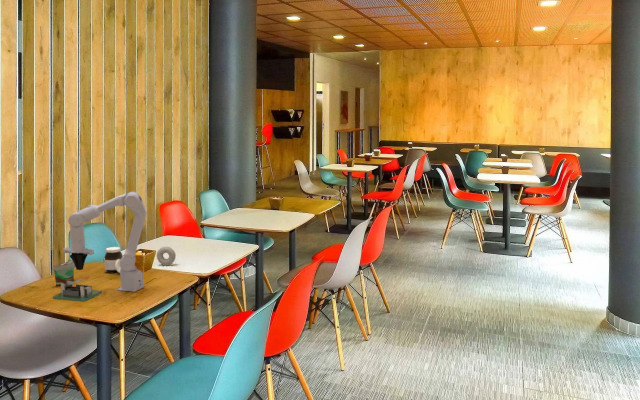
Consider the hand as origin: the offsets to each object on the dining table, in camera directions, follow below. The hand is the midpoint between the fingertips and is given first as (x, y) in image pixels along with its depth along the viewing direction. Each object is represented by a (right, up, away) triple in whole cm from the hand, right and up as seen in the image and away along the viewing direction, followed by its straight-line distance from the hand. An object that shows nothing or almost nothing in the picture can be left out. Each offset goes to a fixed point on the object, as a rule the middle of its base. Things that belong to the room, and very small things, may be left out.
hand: (79, 269), depth 266 cm
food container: (-12, -9, +15) cm, 21 cm away
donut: (+27, -3, +46) cm, 54 cm away
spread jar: (+5, -5, +35) cm, 36 cm away
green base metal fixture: (+1, -11, -4) cm, 12 cm away
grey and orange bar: (+1, -5, -5) cm, 7 cm away
